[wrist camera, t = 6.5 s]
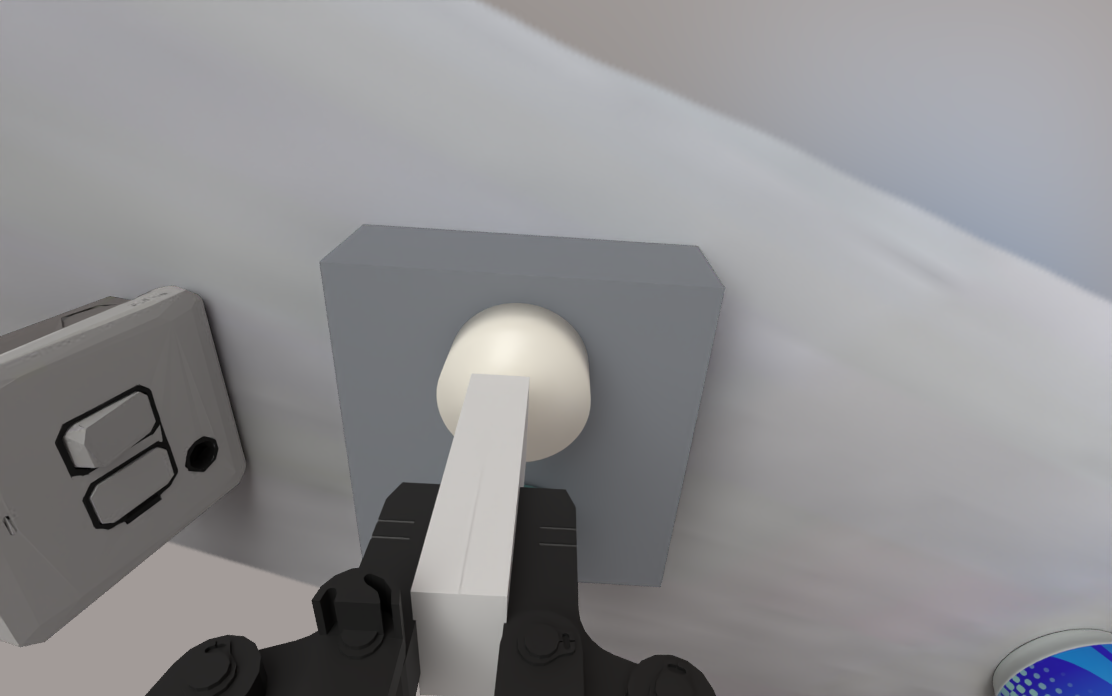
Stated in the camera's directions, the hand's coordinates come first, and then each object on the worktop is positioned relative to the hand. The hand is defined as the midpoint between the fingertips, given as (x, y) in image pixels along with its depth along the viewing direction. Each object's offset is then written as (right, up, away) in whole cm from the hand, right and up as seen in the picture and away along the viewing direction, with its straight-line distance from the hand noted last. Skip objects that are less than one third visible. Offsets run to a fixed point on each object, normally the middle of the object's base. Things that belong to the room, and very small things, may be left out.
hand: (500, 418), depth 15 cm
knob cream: (0, +3, +5) cm, 6 cm away
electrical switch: (-15, 0, +9) cm, 17 cm away
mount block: (0, 0, +8) cm, 8 cm away
